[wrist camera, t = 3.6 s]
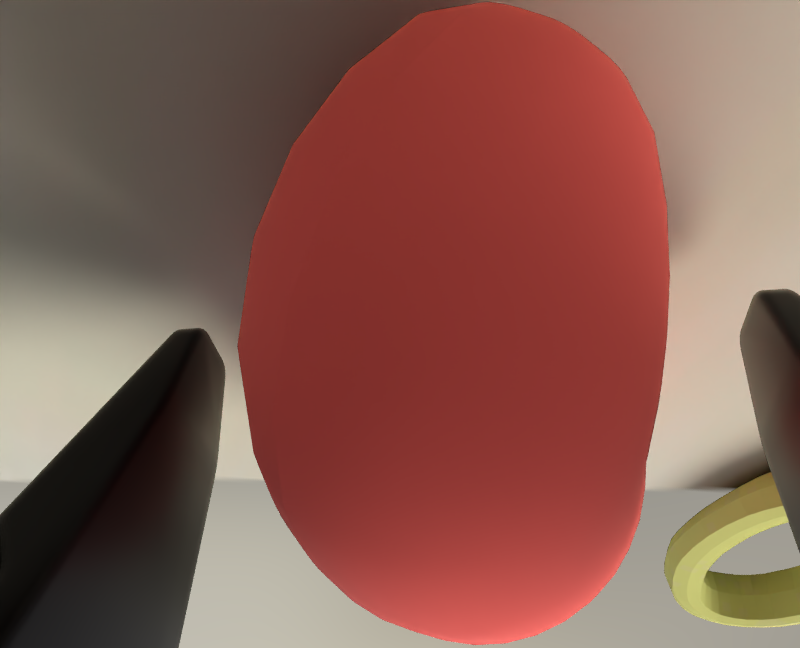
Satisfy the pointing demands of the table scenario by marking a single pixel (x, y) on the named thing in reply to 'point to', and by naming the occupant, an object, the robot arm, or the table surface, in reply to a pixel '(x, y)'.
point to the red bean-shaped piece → (463, 325)
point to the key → (726, 593)
